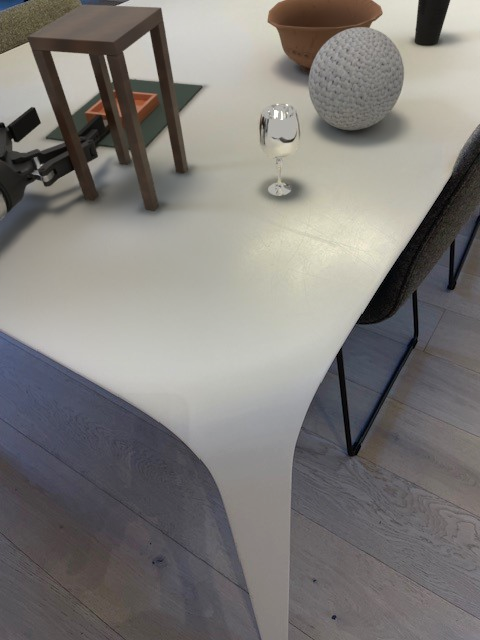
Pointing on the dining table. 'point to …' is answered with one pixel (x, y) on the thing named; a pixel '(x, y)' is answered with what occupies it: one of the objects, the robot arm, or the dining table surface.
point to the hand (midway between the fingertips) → (68, 118)
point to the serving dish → (142, 101)
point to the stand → (110, 39)
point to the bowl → (317, 24)
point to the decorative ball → (356, 78)
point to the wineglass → (279, 138)
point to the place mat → (149, 125)
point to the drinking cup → (430, 21)
